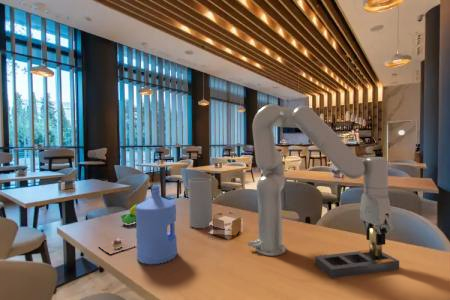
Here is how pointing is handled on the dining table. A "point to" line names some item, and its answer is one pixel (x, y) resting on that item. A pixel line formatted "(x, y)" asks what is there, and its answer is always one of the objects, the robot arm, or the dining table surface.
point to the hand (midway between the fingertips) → (375, 241)
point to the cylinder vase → (200, 202)
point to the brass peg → (374, 242)
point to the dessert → (117, 243)
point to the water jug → (156, 229)
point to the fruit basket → (130, 216)
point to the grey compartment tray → (350, 267)
